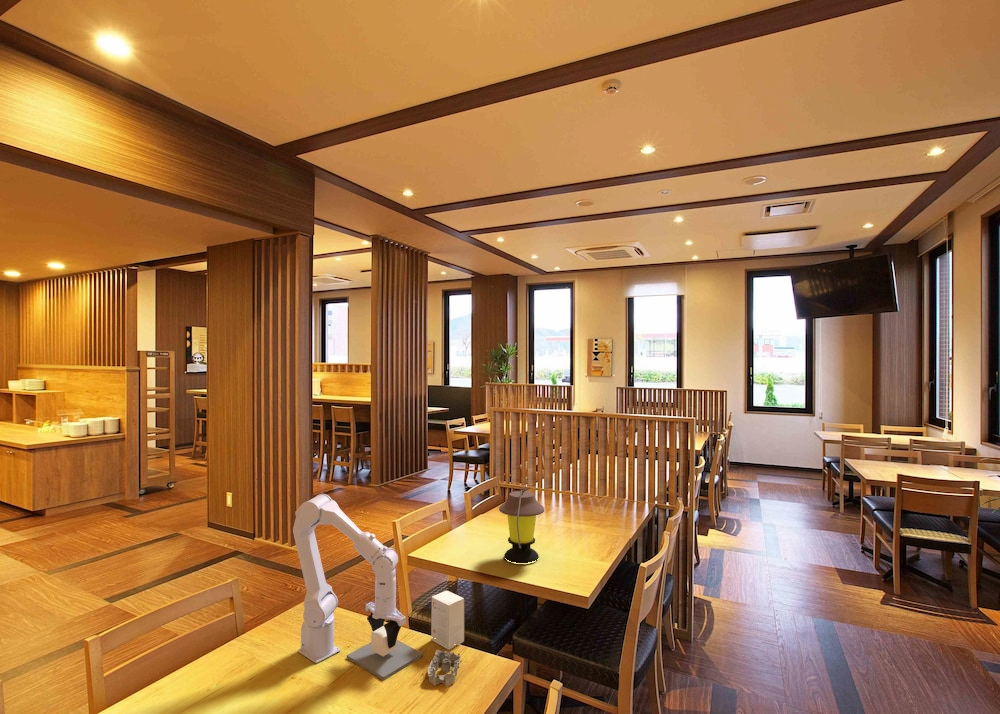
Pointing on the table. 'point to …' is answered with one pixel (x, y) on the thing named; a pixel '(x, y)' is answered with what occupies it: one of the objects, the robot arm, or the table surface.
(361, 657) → the mat
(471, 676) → the table surface
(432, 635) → the small box
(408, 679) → the table surface
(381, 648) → the cube
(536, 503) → the lantern
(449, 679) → the egg carton
